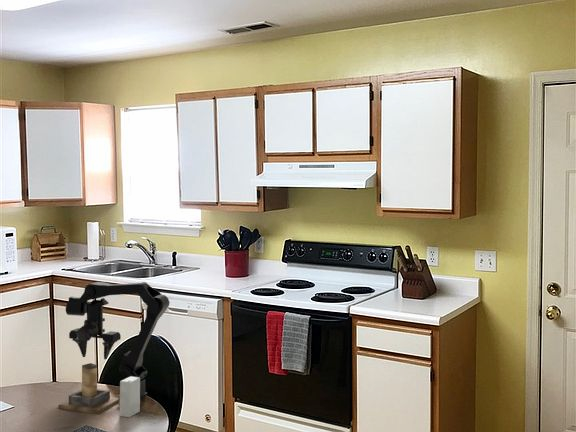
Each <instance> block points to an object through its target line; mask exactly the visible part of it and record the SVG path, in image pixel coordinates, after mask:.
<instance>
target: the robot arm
mask: <svg viewBox="0 0 576 432" xmlns="http://www.w3.org/2000/svg"><path fill="white" fill-rule="evenodd" d="M83 290H84V291H83V294H81V296H80V297H76V296H70V297H68V301H67V303H66V306H65V313H66V315H67V316H78V317H79V316H80V317H83V316H85V315H86V319H85V320H84V321H83V325H82V326H81V327H78V328H74V329H72V330H70V332H69V333H68V339H71V340H72V342H75V343H76V344H77V345H78V348H79V350H80V353H81V356H82V358H86V354H87V349H88V348H87V347H88V341H90V340H91V339H92V338H95V339H101V340H102V342H101V343H102V346H103V359H104V360H108V358H109V354H110V352H111V350H112V348H113V347H114V345H115V343H117V342H119V341H120V340H121V333H120V332H119V331H108V332H106V329H105V328H103V327H104V322H105V321H106V319H105V317H104V315H103V314H104V306H107V305H108V304H109V301H108V300H106V299H105V297H108V296H119V295H122V296H123V295H138V296H139V298H141V300H142V302H143V303H144V304H145V305H146V310H145V311H146V312H145V313H146V314H145V315H146V317H145V319H144V322H143V323H142V326H141V328H140V331H139V333H138V335H137V337H136V339H135V341H134V344H133V346H132V348H131V350H129V351H128V352H126V353H124V354H123V355H122V358H121V360H120V362H119V363H118V365H119V372H120V375H122V377H123V380H124V379H126V378H128V377H130V376H131V377H139V378H140V399H141V398H143V397H144V396H146V395H148V392H146V378H145V377H147V374H148V370H147V368H146V367H144V366H143V362H144V352H145V350H146V348H147V345H148V343H149V341H150V338H151V337H152V335H153V332H154V330H155V328H156V327H157V323H158V321H159V320H160V319H161V317H162V316H163V315H164V314H165V312H166V310H167V309H168V308H169V306H170V300H169V297H167V296H166V295H164V294H162V293H161V292H160V291H158V290H157V289H156V288H154V287H152V286H151V285H150V284H148V283H147V282H145V281H141V282H134V283H133V282H131V283H130V282H129V283H115V284H114V283H108V282H103V281H95V282H93V283H89V284H87V285H86V286H85V288H84V289H83ZM105 332H106V333H105Z"/></svg>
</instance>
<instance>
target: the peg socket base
mask: <svg viewBox="0 0 576 432" xmlns="http://www.w3.org/2000/svg"><path fill="white" fill-rule="evenodd" d="M118 403H120V397H119V398H118V397H114V396H113V397H111V390H110V389H102V388H97V396H95V397H93V398H91V397H83V396H82V388H81V389H80V390H78V391H76V392H74V393H71V394H70V395H68V399H67V400H65V401H63V402H61V403H59V404H58V409H62V410H70V411H74V412H75V411H77V412H83V413H91V414H98V415H100V414H101V413H102V412H104V411H106V410H108V409H109V408H112V407H113V406H114V405H116V404H118Z"/></svg>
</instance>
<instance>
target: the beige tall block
mask: <svg viewBox="0 0 576 432" xmlns="http://www.w3.org/2000/svg"><path fill="white" fill-rule="evenodd" d="M81 389H82V396H83V397H91V398H93V397H95V396H97V389H98V365H97V364H96V363H91V362H90V363H86V364H81Z"/></svg>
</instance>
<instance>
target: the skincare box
mask: <svg viewBox="0 0 576 432" xmlns="http://www.w3.org/2000/svg"><path fill="white" fill-rule="evenodd" d="M119 398H120V402H119V416H120V417H126V418H131V417H133V416H134V415H136V414H138V413H139V412H140V411H141V398H140V378H139V377H131V376H130V377H128V378H126V379H124V378H123V379H122V380H120V382H119Z"/></svg>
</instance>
